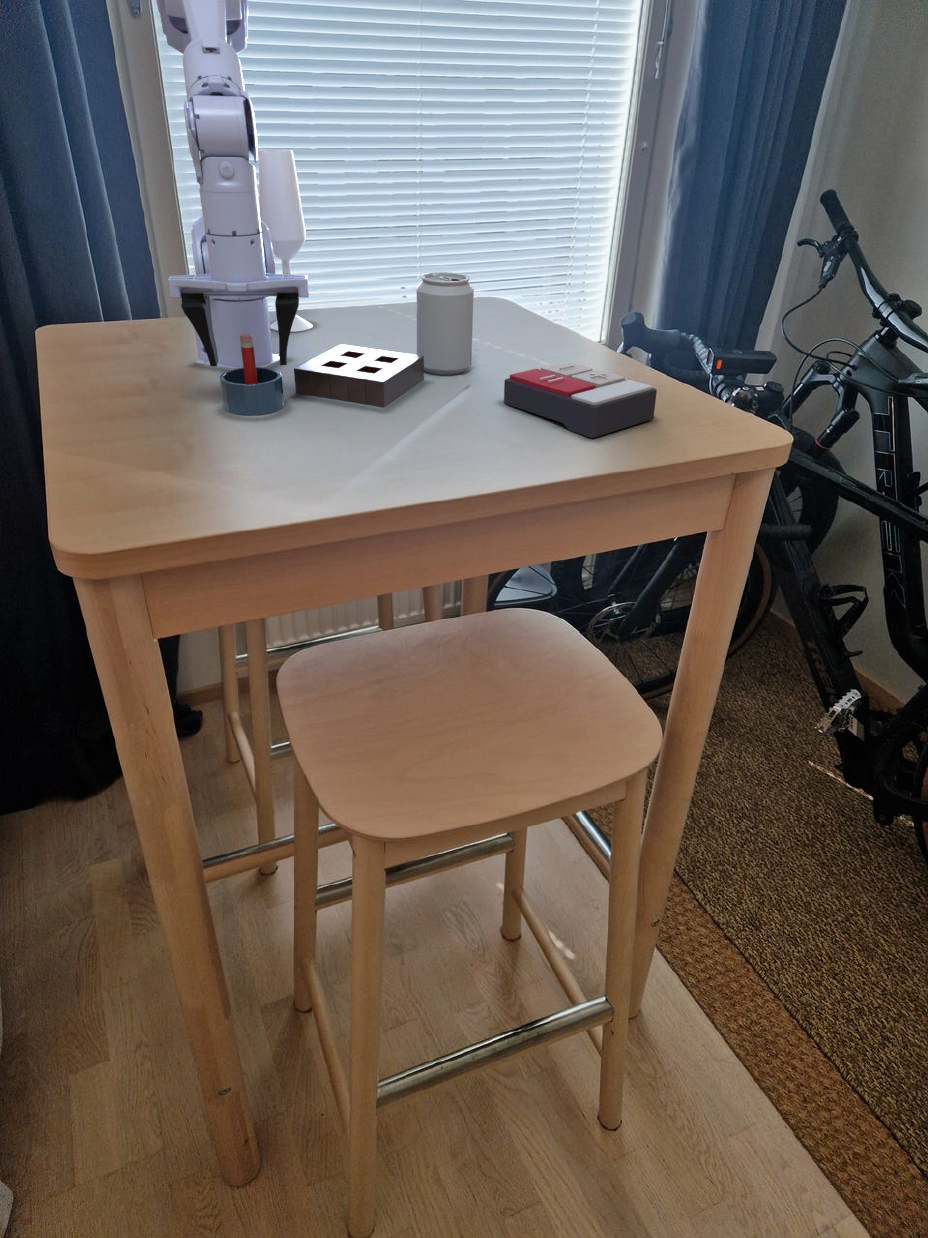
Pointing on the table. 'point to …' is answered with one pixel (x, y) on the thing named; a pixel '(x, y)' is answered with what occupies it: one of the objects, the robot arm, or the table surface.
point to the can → (445, 322)
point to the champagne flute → (282, 211)
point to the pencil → (248, 359)
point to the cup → (252, 392)
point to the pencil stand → (359, 375)
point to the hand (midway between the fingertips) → (249, 363)
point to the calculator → (581, 398)
